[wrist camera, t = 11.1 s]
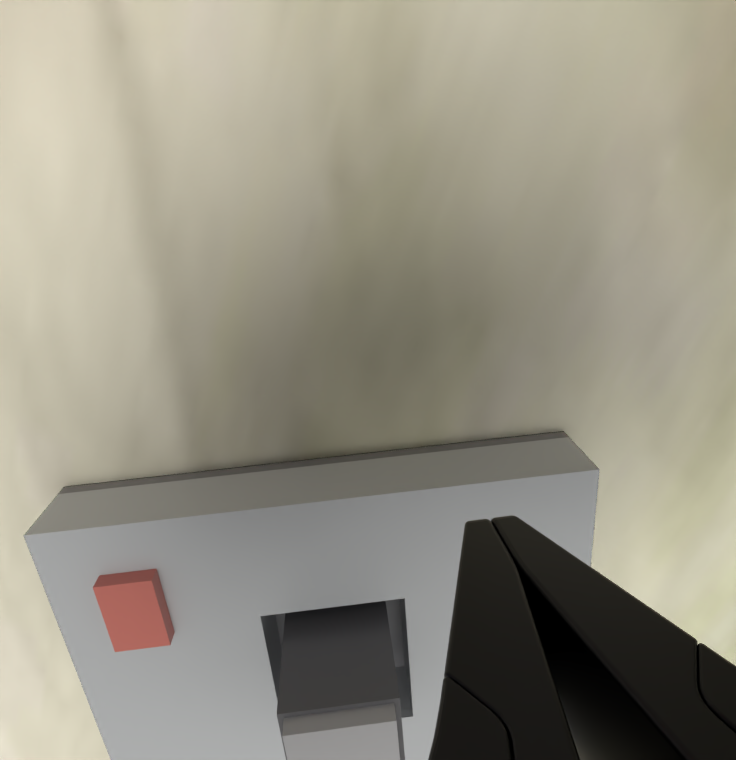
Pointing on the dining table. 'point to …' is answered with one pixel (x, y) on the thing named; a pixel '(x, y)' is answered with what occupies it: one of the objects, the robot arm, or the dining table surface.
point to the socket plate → (279, 579)
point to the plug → (339, 685)
